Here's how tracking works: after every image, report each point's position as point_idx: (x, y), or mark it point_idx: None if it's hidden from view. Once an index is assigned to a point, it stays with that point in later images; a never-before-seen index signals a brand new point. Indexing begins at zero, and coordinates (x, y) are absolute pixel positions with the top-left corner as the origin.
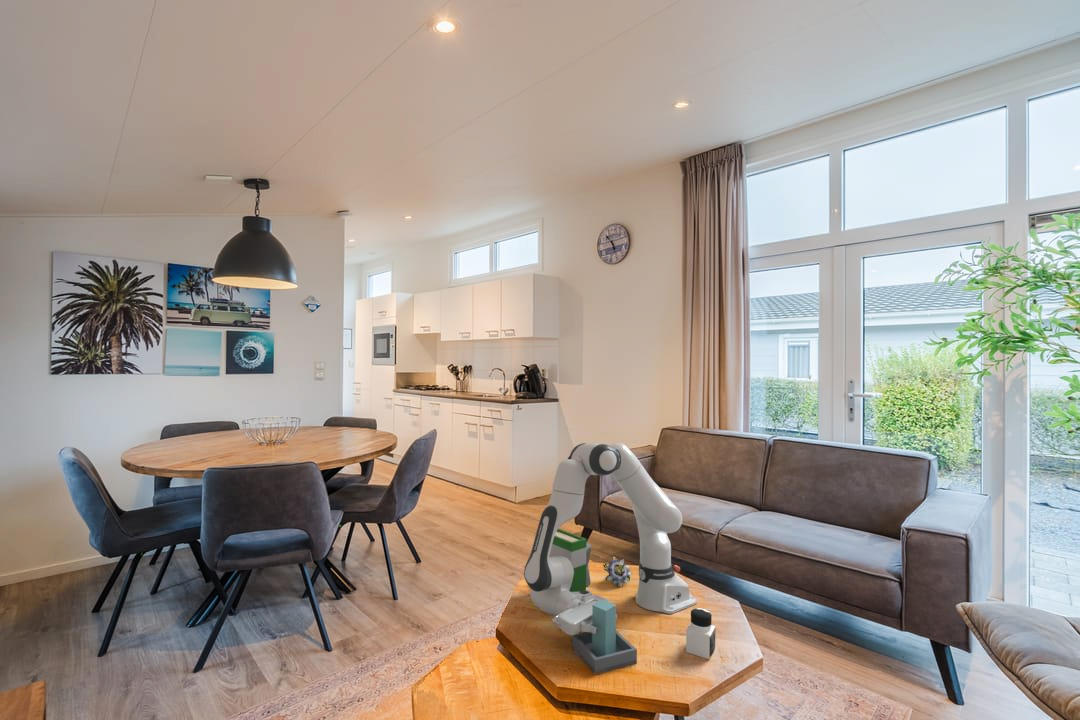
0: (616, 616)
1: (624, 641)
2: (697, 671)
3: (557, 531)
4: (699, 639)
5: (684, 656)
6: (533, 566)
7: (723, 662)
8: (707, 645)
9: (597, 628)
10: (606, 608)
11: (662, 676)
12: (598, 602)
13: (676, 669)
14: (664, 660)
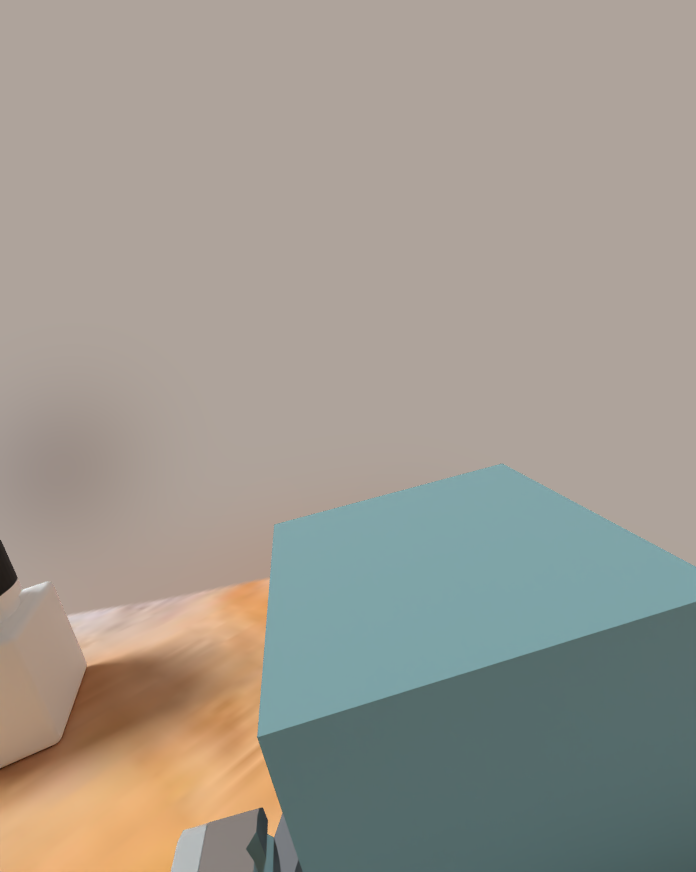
0: (204, 825)
1: (298, 862)
2: (196, 635)
3: None
4: (48, 627)
5: (104, 723)
6: None
7: (84, 642)
8: (65, 621)
9: None
10: (459, 489)
11: None
12: (489, 642)
13: (235, 667)
14: (197, 738)
